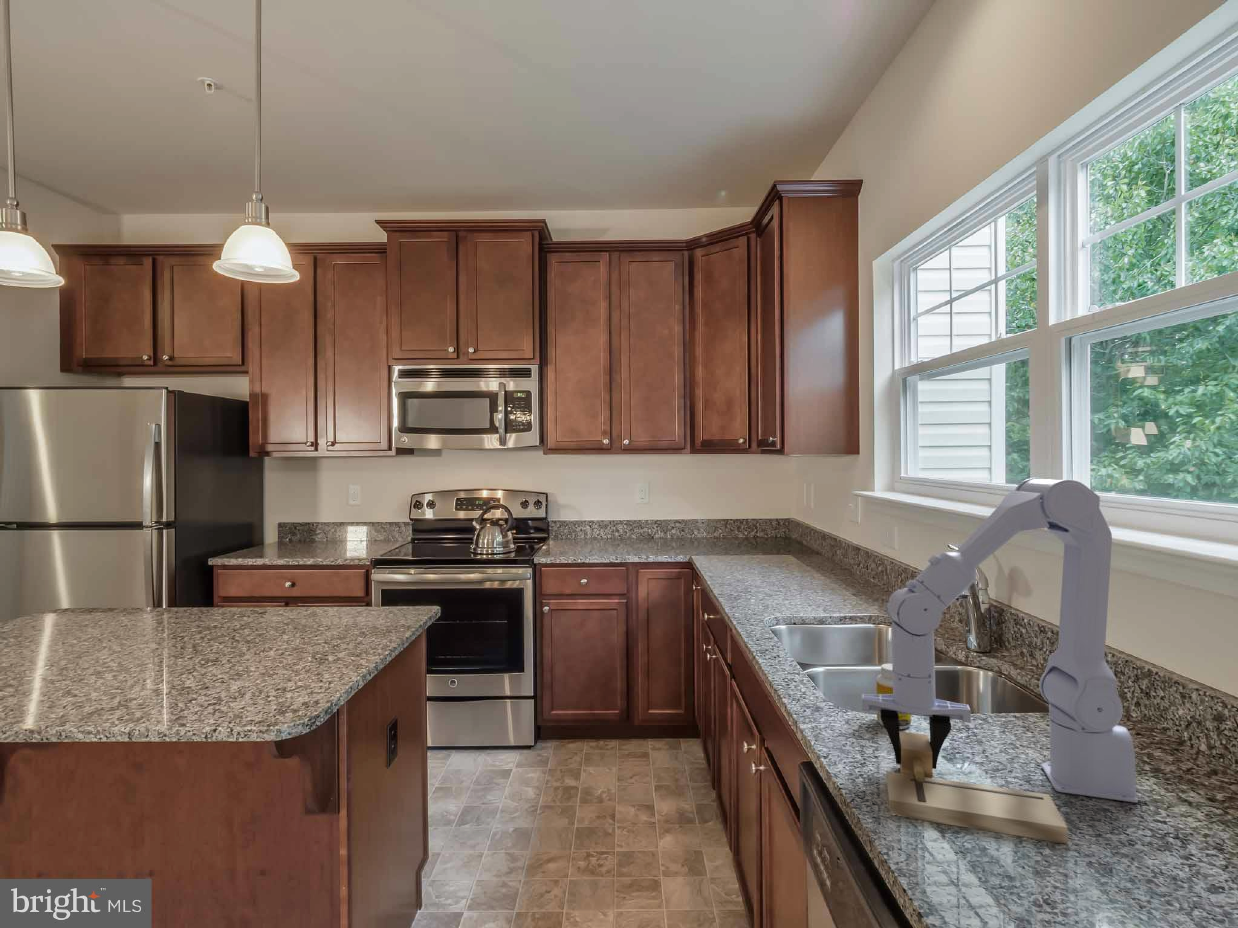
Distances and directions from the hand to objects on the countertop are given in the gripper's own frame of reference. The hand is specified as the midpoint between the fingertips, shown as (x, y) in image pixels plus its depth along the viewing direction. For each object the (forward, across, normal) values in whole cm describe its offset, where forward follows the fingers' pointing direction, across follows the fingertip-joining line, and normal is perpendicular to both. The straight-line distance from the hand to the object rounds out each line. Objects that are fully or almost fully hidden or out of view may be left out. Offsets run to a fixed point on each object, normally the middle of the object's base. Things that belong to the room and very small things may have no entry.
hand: (915, 763), depth 94 cm
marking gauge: (+2, 0, +3) cm, 3 cm away
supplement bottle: (+2, +2, -20) cm, 20 cm away
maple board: (+2, -6, +8) cm, 10 cm away
